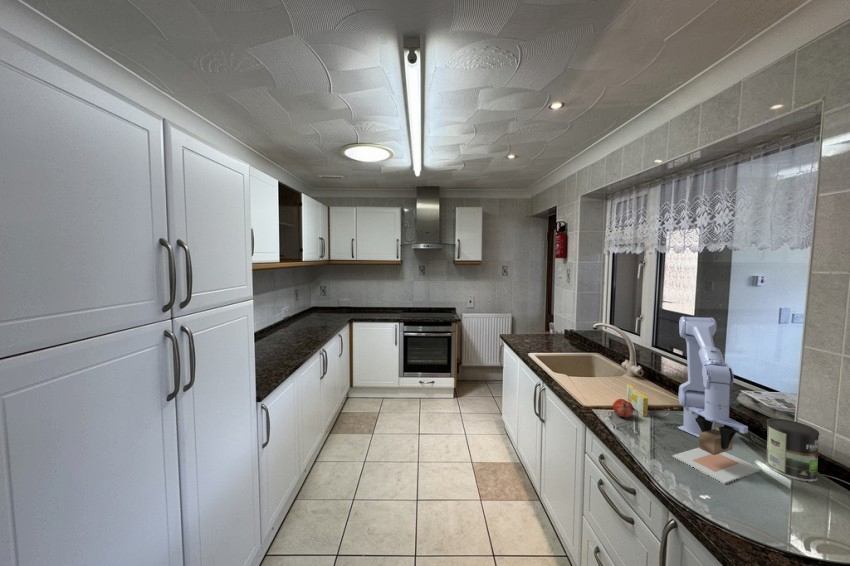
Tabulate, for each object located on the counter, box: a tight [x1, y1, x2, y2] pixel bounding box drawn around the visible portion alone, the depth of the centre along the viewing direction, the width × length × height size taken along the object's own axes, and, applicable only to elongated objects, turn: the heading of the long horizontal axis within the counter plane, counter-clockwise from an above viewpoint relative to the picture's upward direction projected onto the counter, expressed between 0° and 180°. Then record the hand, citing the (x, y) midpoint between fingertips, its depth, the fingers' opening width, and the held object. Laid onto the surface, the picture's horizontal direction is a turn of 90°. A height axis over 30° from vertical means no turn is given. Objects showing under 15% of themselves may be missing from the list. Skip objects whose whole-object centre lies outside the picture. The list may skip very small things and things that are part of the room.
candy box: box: [625, 383, 649, 418], centre depth 139 cm, size 16×2×8 cm, turn 168°
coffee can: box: [766, 417, 820, 483], centre depth 95 cm, size 10×10×14 cm
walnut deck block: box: [698, 427, 734, 455], centre depth 99 cm, size 4×9×5 cm, turn 108°
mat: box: [672, 447, 763, 485], centre depth 99 cm, size 18×14×1 cm
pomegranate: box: [612, 398, 634, 419], centre depth 132 cm, size 7×7×10 cm
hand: (715, 444), depth 99 cm, fingers closed on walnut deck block, 4 cm apart
